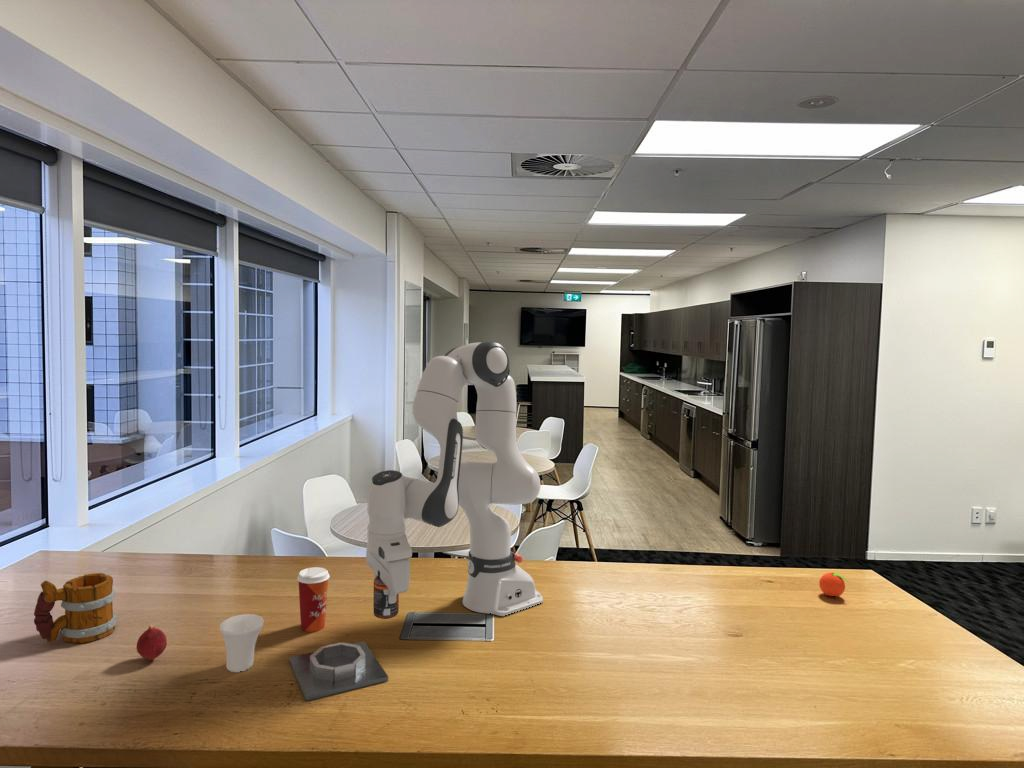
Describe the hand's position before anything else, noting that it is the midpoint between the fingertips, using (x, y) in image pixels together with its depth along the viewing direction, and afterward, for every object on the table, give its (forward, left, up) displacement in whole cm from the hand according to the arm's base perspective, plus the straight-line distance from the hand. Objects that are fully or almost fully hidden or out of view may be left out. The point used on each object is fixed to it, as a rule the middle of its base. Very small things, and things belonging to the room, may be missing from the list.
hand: (386, 596), depth 155 cm
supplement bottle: (0, 0, -5) cm, 5 cm away
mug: (+64, -32, -11) cm, 72 cm away
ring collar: (+14, +9, -11) cm, 20 cm away
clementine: (-127, +31, -11) cm, 131 cm away
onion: (+49, -13, -11) cm, 52 cm away
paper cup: (+14, -14, -11) cm, 23 cm away
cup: (+32, -2, -11) cm, 34 cm away
